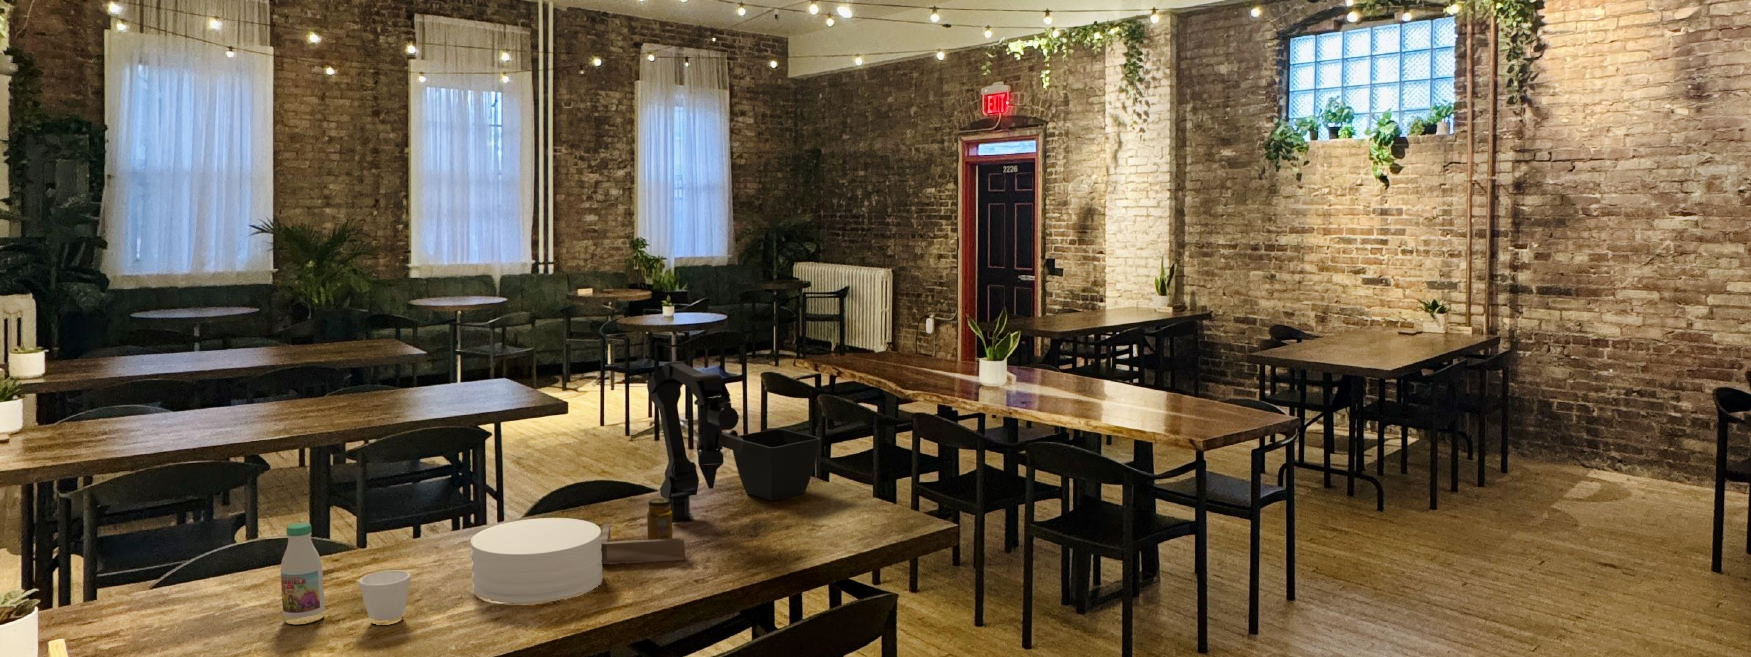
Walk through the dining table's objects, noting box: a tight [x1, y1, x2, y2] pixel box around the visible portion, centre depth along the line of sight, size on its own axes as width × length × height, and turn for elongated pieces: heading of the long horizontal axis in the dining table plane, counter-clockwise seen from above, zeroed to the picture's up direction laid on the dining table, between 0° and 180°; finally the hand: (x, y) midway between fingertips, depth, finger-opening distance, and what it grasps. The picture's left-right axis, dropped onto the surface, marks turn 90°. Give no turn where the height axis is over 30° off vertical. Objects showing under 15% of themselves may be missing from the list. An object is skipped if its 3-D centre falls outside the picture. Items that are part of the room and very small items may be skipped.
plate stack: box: [470, 517, 604, 604], centre depth 264 cm, size 28×28×12 cm
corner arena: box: [601, 523, 685, 565], centre depth 288 cm, size 18×20×5 cm
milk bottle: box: [280, 522, 326, 618], centre depth 242 cm, size 8×8×20 cm
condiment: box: [646, 497, 673, 540], centre depth 288 cm, size 7×8×12 cm
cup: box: [358, 569, 412, 621], centre depth 242 cm, size 10×10×9 cm
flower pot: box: [732, 428, 821, 502], centre depth 342 cm, size 19×19×17 cm
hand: (710, 484), depth 302 cm, fingers open, 9 cm apart
